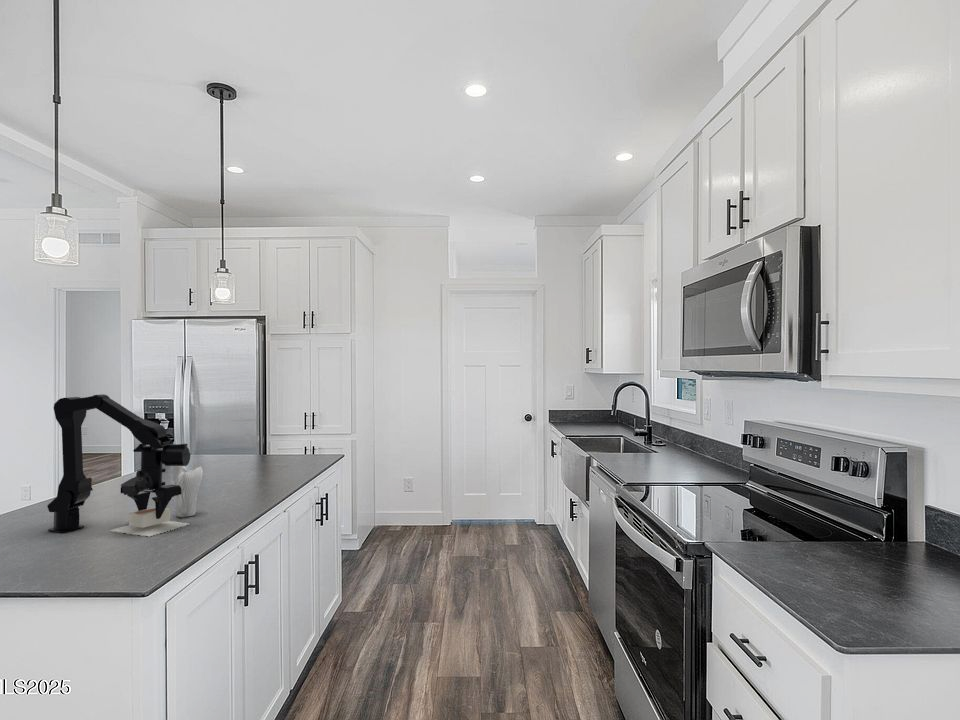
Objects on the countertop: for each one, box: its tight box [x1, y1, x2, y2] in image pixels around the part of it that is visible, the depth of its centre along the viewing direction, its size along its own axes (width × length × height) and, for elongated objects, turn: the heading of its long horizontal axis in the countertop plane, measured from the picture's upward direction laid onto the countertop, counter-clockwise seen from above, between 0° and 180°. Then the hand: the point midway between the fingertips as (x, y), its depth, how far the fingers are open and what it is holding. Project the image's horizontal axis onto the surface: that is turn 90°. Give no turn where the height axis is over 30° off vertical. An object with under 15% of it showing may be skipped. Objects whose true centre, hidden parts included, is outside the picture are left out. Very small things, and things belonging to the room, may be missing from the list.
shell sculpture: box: [171, 465, 204, 518], centre depth 185 cm, size 8×8×18 cm
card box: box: [128, 506, 171, 528], centre depth 170 cm, size 9×6×4 cm, turn 157°
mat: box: [109, 520, 190, 538], centre depth 170 cm, size 16×14×1 cm
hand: (150, 517), depth 170 cm, fingers closed on card box, 6 cm apart
